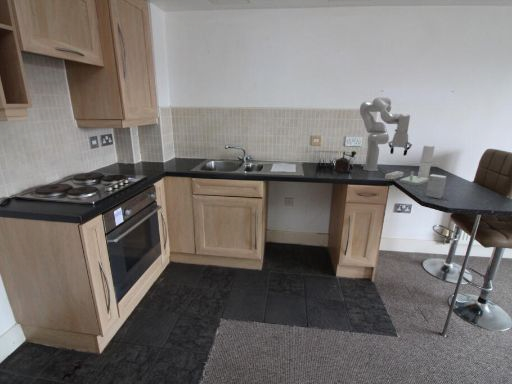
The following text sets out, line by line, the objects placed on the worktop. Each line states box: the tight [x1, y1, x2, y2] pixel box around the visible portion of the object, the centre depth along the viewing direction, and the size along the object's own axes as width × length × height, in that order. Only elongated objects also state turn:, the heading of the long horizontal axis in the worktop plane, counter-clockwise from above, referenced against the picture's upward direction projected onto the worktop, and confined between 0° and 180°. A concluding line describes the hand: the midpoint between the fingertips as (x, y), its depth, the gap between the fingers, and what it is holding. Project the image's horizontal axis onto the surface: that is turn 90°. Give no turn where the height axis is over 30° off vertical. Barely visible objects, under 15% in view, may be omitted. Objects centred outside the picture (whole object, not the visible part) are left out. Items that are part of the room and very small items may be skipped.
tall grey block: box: [418, 144, 436, 178], centre depth 218 cm, size 7×7×25 cm
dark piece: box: [334, 150, 357, 173], centre depth 236 cm, size 16×11×18 cm
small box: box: [425, 173, 448, 199], centre depth 172 cm, size 8×6×13 cm
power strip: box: [384, 170, 404, 180], centre depth 219 cm, size 5×20×4 cm, turn 130°
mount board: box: [399, 168, 429, 186], centre depth 208 cm, size 12×22×8 cm, turn 130°
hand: (398, 154), depth 215 cm, fingers open, 9 cm apart
